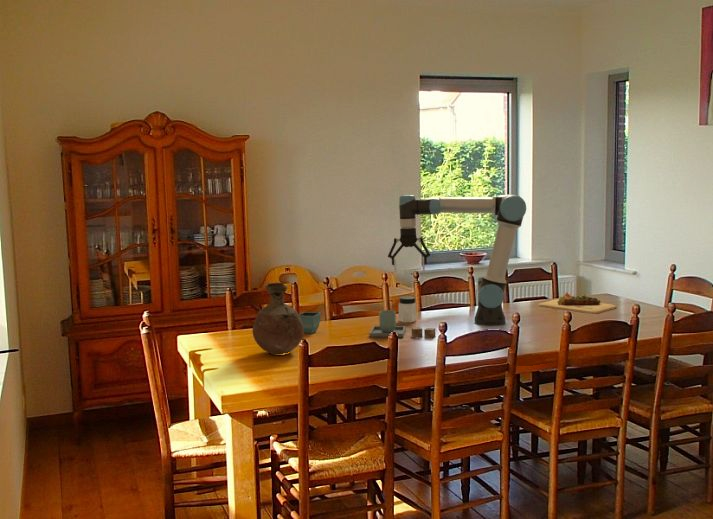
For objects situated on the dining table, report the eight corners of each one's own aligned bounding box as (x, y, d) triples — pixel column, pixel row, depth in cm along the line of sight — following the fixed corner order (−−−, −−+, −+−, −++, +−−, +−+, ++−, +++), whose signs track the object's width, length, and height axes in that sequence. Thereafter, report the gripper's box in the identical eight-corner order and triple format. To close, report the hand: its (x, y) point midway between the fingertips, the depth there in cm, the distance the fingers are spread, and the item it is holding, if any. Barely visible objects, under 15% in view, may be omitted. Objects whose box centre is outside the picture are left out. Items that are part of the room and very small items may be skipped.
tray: (405, 330, 367) (405, 326, 366) (403, 337, 351) (403, 333, 351) (373, 330, 369) (373, 326, 369) (369, 337, 354) (369, 333, 353)
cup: (394, 334, 356) (394, 313, 354) (378, 334, 357) (377, 313, 356) (397, 330, 363) (396, 310, 362) (381, 330, 365) (380, 309, 363)
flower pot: (297, 333, 365) (296, 315, 364) (304, 329, 373) (304, 311, 372) (314, 334, 362) (313, 316, 361) (321, 330, 370) (320, 312, 369)
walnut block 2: (435, 336, 352) (435, 328, 352) (432, 338, 349) (432, 330, 348) (427, 336, 354) (427, 327, 354) (424, 338, 350) (424, 329, 350)
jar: (398, 322, 385) (398, 299, 383) (398, 319, 393) (398, 296, 391) (416, 322, 384) (416, 298, 383) (416, 319, 392) (416, 296, 391)
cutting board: (537, 307, 420) (537, 293, 419) (560, 301, 436) (560, 288, 435) (595, 315, 395) (595, 300, 394) (617, 308, 410) (618, 294, 409)
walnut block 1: (419, 335, 356) (419, 327, 355) (422, 337, 352) (422, 328, 351) (411, 336, 355) (411, 327, 354) (414, 338, 351) (413, 329, 350)
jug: (261, 362, 314) (258, 289, 310) (247, 350, 334) (244, 282, 330) (311, 355, 323) (309, 285, 319) (294, 345, 342) (292, 278, 338)
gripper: (434, 226, 368) (435, 269, 371) (382, 227, 371) (384, 271, 374) (434, 227, 361) (435, 271, 363) (381, 229, 364) (383, 273, 367)
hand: (409, 271), depth 369 cm, fingers open, 13 cm apart
